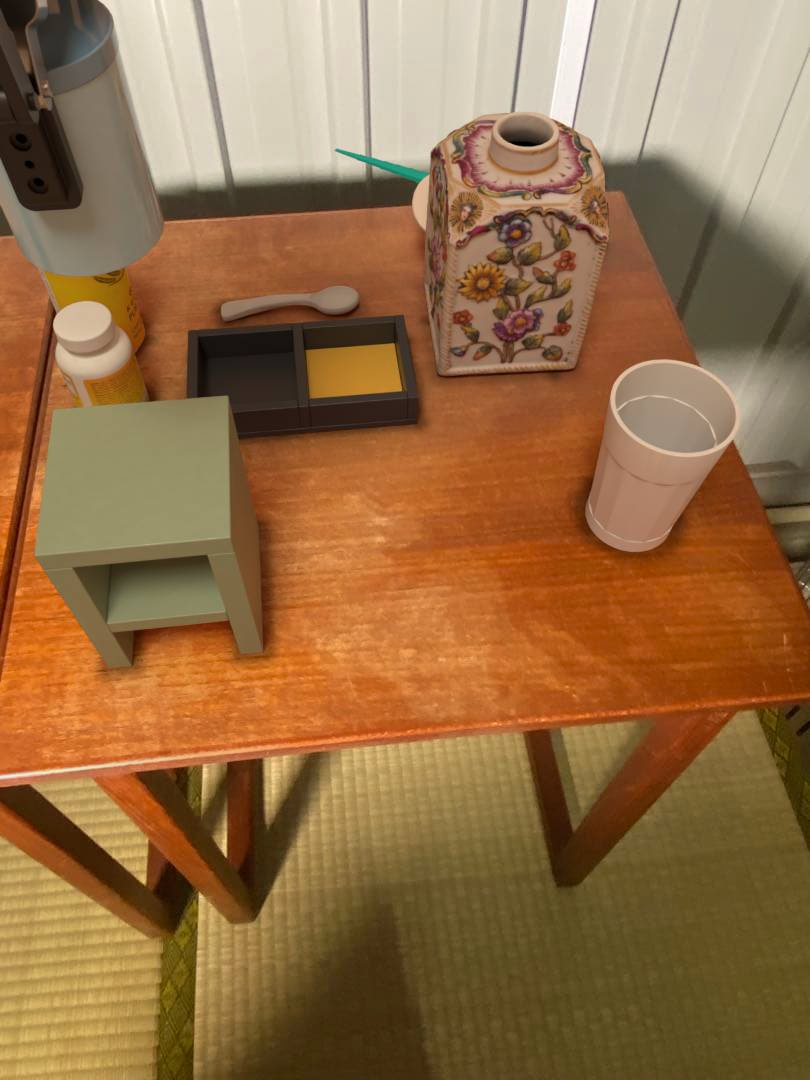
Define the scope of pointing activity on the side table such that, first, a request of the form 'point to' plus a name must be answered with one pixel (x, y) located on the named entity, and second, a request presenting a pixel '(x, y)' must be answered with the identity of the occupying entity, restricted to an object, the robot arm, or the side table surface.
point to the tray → (307, 374)
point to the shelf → (150, 522)
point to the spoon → (295, 302)
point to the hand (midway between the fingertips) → (63, 148)
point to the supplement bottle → (96, 357)
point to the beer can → (99, 298)
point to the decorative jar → (513, 244)
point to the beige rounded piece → (421, 203)
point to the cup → (657, 450)
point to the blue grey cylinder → (90, 153)
